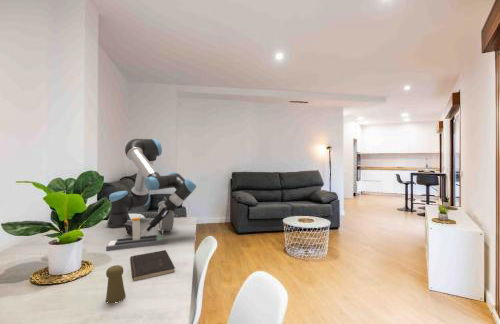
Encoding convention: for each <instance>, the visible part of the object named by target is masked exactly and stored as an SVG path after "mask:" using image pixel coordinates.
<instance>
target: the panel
mask: <svg viewBox="0 0 500 324" xmlns="http://www.w3.org/2000/svg"><path fill="white" fill-rule="evenodd" d="M156 245H157V246H159V245H165V235H164V234H161V235H157V234H152V235H146V236H144V235H142V236H141V239H140V240H134V241H133V236H131V237H126V238H125V237H124V238H117V239H116V240H110V241H109V242H108V243H107V245H106V247H105V251H106V252H109V251H116V250H126V249H134V248H135V249H136V248H143V247H150V246H151V247H153V246H156Z"/></svg>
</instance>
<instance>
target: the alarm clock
mask: <svg viewBox="0 0 500 324" xmlns="http://www.w3.org/2000/svg"><path fill="white" fill-rule="evenodd" d="M166 200H167V198H166V197H165V196H163V199H162V201H159V202H158V204H157V208H158V210H157V215H158V214H159V212H160V211H161V210H162V208H163V207H164V208H165V207H166V205H165V204H164V202H165V201H166ZM174 212H175V211H172V210H170V211H169V214H168V215H167V216H166V217H164V218H163V219H162V220H161V221H160V222H159V223H158V224H157V229H158V231H159V232H160V231H161V235H164V232H165V231H169V232H170V231H172V230H173V227H174V222H175V221H174V216H175V215H174V214H175V213H174Z"/></svg>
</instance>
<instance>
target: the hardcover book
mask: <svg viewBox="0 0 500 324" xmlns="http://www.w3.org/2000/svg"><path fill="white" fill-rule="evenodd" d="M129 260H130V268H131V275H132V276H131V277H132V282H134V281H139V280H143V279H148V278H153V277H157V276H161V275H166V274H171V273H174V272H175V269H176V267H175V265H174V263H173V262H172V259H171V257H170V256H169V254H168V252H167V250H166V249H164V250H158V251H152V252H147V253H143V254H137V255H131V256H130V257H129Z"/></svg>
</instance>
